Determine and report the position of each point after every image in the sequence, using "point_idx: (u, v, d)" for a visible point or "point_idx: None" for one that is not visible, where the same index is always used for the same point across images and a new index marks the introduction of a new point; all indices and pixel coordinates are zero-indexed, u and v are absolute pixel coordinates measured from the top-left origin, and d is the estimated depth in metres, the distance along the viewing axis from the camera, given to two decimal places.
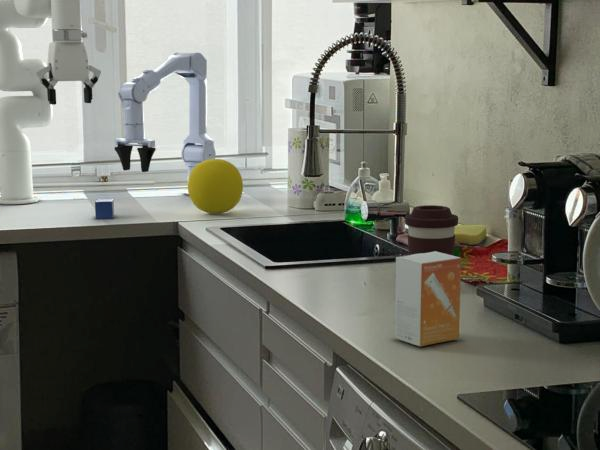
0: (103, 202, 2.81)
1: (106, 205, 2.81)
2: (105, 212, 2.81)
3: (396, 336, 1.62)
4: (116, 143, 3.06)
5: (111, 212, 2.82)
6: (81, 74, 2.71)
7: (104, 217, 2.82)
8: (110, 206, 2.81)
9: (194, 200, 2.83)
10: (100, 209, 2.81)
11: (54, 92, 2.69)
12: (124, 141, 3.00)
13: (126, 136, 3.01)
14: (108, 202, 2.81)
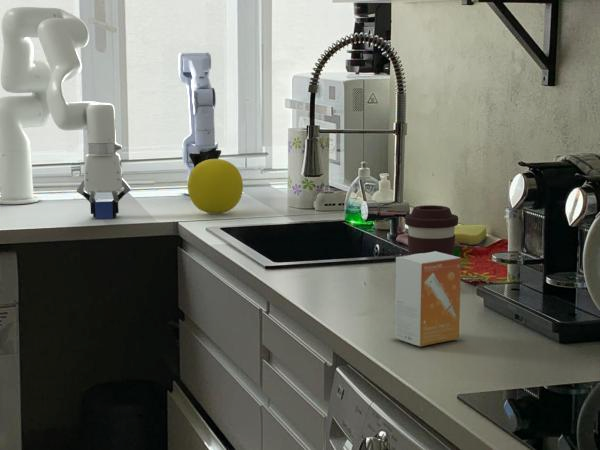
0: (103, 202, 2.81)
1: (106, 205, 2.81)
2: (105, 212, 2.81)
3: (396, 336, 1.62)
4: None
5: (111, 212, 2.82)
6: (112, 185, 2.81)
7: (104, 217, 2.82)
8: (110, 206, 2.81)
9: (194, 200, 2.83)
10: (100, 209, 2.81)
11: (94, 206, 2.82)
12: None
13: None
14: (108, 202, 2.81)
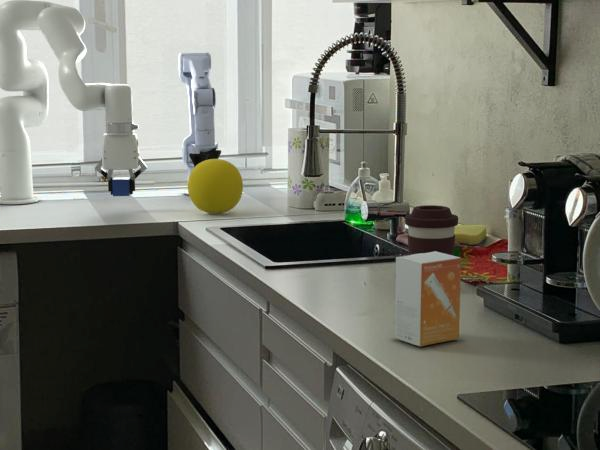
0: (120, 180, 2.91)
1: (123, 183, 2.91)
2: (122, 189, 2.91)
3: (396, 336, 1.62)
4: None
5: (128, 190, 2.91)
6: (129, 164, 2.90)
7: (121, 194, 2.91)
8: (127, 184, 2.91)
9: (194, 200, 2.83)
10: (117, 187, 2.91)
11: (111, 183, 2.91)
12: None
13: None
14: (125, 180, 2.91)
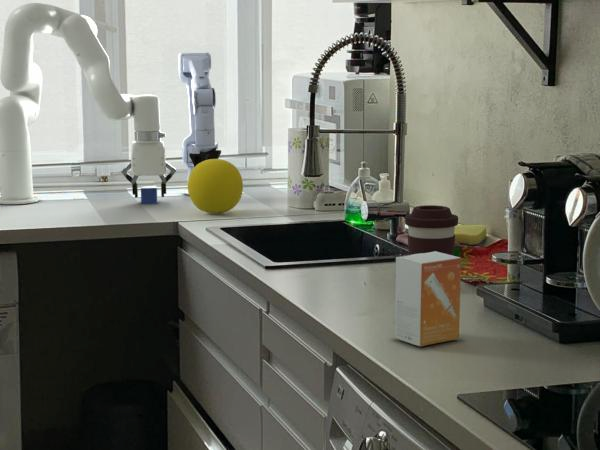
0: (148, 188, 3.08)
1: (151, 191, 3.08)
2: (150, 197, 3.08)
3: (396, 336, 1.62)
4: None
5: (155, 198, 3.08)
6: (157, 170, 3.07)
7: (149, 202, 3.08)
8: (154, 192, 3.08)
9: (194, 200, 2.83)
10: (145, 195, 3.08)
11: (135, 187, 3.08)
12: None
13: None
14: (153, 188, 3.08)
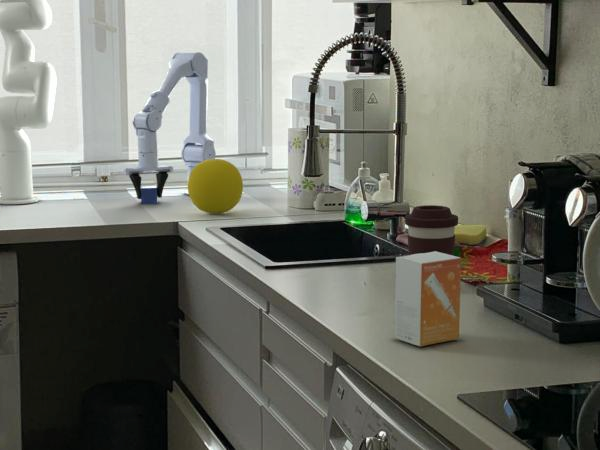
0: (148, 188, 3.08)
1: (151, 191, 3.08)
2: (150, 197, 3.08)
3: (396, 336, 1.62)
4: None
5: (155, 198, 3.08)
6: None
7: (149, 202, 3.08)
8: (155, 192, 3.08)
9: (194, 200, 2.83)
10: (145, 195, 3.08)
11: None
12: None
13: None
14: (153, 188, 3.08)
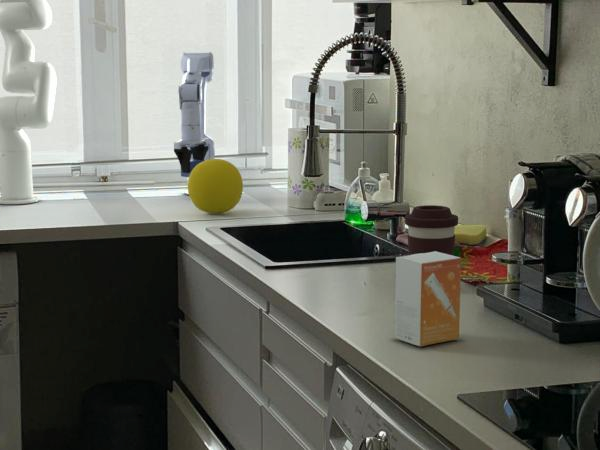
0: (196, 161, 3.05)
1: None
2: None
3: (396, 336, 1.62)
4: None
5: None
6: None
7: None
8: None
9: (194, 200, 2.83)
10: None
11: None
12: None
13: None
14: (200, 161, 3.06)
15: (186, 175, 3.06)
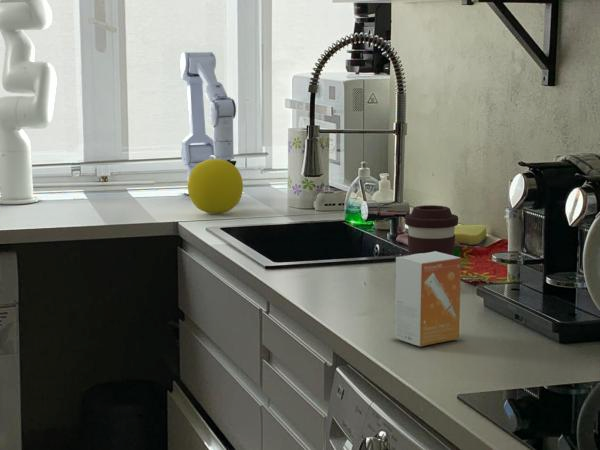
0: None
1: None
2: None
3: (396, 336, 1.62)
4: None
5: None
6: None
7: None
8: None
9: (194, 200, 2.83)
10: None
11: None
12: (210, 156, 3.06)
13: None
14: None
15: None
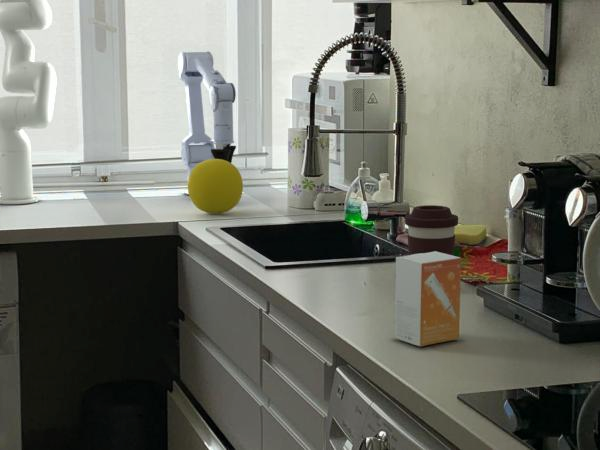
0: None
1: None
2: None
3: (396, 336, 1.62)
4: None
5: None
6: None
7: None
8: None
9: (194, 200, 2.83)
10: None
11: None
12: (210, 141, 3.05)
13: None
14: None
15: None
